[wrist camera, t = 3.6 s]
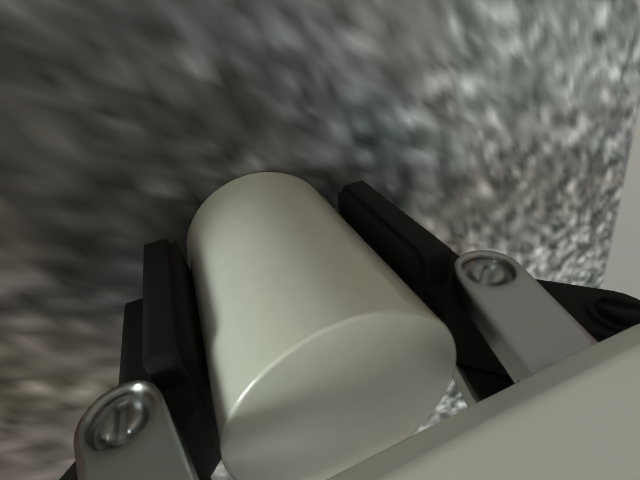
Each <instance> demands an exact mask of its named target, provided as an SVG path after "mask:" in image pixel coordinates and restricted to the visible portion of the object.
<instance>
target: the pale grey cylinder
mask: <svg viewBox="0 0 640 480" xmlns="http://www.w3.org/2000/svg"><path fill="white" fill-rule="evenodd" d="M187 255H188V262H189V268H190V273H191V279H192V285H193V291H194V297H195V303H196V309H197V315H198V321H199V327H200V333H201V339H202V345H203V351H204V357H205V364H206V370H207V376H208V382H209V388H210V394H211V400H212V406H213V412H214V418H215V424H216V430H217V436H218V442H219V448H220V454H221V459H222V461H223V464H224V466H225V468H226V470H227V471H228V472H229V474H230V475H231V476H232V477H233V478H234V479H235V480H326V479H328V478H330V477H332V476H334V475H336V474H338V473H340V472H342V471H344V470H346V469H348V468H350V467H352V466H354V465H356V464H358V463H360V462H361V461H363V460H365V459H367V458H369V457H371V456H373V455H375V454H377V453H379V452H381V451H383V450H385V449H387V448H389V447H391V446H393V445H395V444H397V443H399V442H401V441H403V440H405V439H407V438H408V437H409V436H410V435H411V434H412V433H413V432H414V431H415V430H416V429H417V428H418V427H419V426H420V425H421V424H422V423H423V422H424V421H425V420H426V419H427V418H428V417H429V415H430V414H431V413H432V412H433V411H434V409H435V408H436V406H437V405H438V404H439V402H440V401H441V399H442V398H443V396H444V394H445V393H446V391H447V389H448V387H449V385H450V383H451V380H452V377H453V374H454V371H455V366H456V358H457V351H456V344H455V341H454V338H453V336H452V333H451V332H450V330H449V329H448V327H447V326H446V325H445V324H444V323H443V322H442V321H441V319H440V318H439V317H438V316H437V315H436V314H435V313H434V312H433V311H432V310H431V309H430V308H429V307H428V306H427V305H426V304H425V303H424V302H423V301H422V300H421V299H420V298H419V297H418V295H417V294H416V293H415V292H414V291H413V290H412V289H411V288H410V287H409V286H408V285H407V284H406V283H405V282H404V281H403V280H402V279H401V278H400V277H399V276H398V275H397V274H396V273H395V271H394V270H393V269H392V268H391V267H390V266H389V265H388V264H387V263H386V262H385V261H384V260H383V259H382V258H381V257H380V256H379V255H378V254H377V253H376V252H375V251H374V250H373V249H372V247H371V246H370V245H369V244H368V243H367V242H366V241H365V240H364V239H363V238H362V237H361V236H360V235H359V234H358V233H357V232H356V231H355V230H354V229H353V228H352V227H351V226H350V225H349V223H348V222H347V221H346V220H345V219H344V218H343V217H342V216H341V215H340V214H339V213H338V212H337V211H336V210H335V209H334V208H333V207H332V206H331V205H330V204H329V203H328V202H327V201H326V199H325V198H324V197H323V196H322V195H321V194H320V193H319V192H318V191H317V190H316V189H315V188H314V187H313V186H311V185H310V184H308V183H307V182H306V181H304V180H302V179H300V178H298V177H295V176H292V175H289V174H284V173H279V172H261V173H254V174H249V175H246V176H243V177H240V178H237V179H235V180H233V181H230V182H228V183H227V184H225V185H223V186H222V187H220V188H219V189H217V190H216V191H215V192H214V193H213V194H211V195H210V196H209V197H208V198H207V199H206V200H205V201H204V203H203V204H202V205H201V206H200V208H199V209H198V211H197V212H196V214H195V216H194V218H193V220H192V222H191V225H190V228H189V231H188V236H187Z"/></svg>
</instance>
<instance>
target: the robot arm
mask: <svg viewBox="0 0 640 480" xmlns="http://www.w3.org/2000/svg"><path fill="white" fill-rule="evenodd" d="M338 205H339V214H340V215H341V216H342V217H343V218H344V219H345V220H346V221H347V222H348V223H349V225H350V226H351V227H352V228H353V229H354V230H355V231H356V232H357V233H358V234H359V235H360V236H361V237H362V238H363V239H364V240H365V241H366V242H367V243H368V244H369V245H370V246H371V247H372V249H373V250H374V251H375V252H376V253H377V254H378V255H379V256H380V257H381V258H382V259H383V260H384V261H385V262H386V263H387V264H388V265H389V266H390V267H391V268H392V269H393V270H394V271H395V273H396V274H397V275H398V276H399V277H400V278H401V279H402V280H403V281H404V282H405V283H406V284H407V285H408V286H409V287H410V288H411V289H412V290H413V291H414V292H415V293H416V294H417V295H418V297H419V298H420V299H421V300H422V301H423V302H424V303H425V304H426V305H427V306H428V307H429V308H430V309H431V310H432V311H433V312H434V313H435V314H436V315H437V316H438V317H439V318H440V319H441V321H442V322H443V323H444V324H445V325H446V326H447V327H448V329H449V330H450V332H451V333H452V336H453V338H454V341H455V344H456V351H457V358H456V366H455V371H454V374H453V379H454V381H455V383H456V385H457V387H458V388H459V390H460V392H461V394H462V396H463V398H464V400H465V402H466V404H467V406H468V408H466V409H464V410H462V411H460V412H458V413H456V414H454V415H452V416H450V417H448V418H446V419H444V420H442V421H440V422H438V423H436V424H434V425H433V426H431V427H429V428H427V429H425V430H423V431H421V432H419V433H417V434H415V435H413V436H411V437H409V438H407V439H405V440H403V441H401V442H399V443H397V444H395V445H393V446H391V447H389V448H387V449H385V450H383V451H381V452H379V453H377V454H375V455H373V456H371V457H369V458H367V459H365V460H363V461H361V462H360V463H358V464H356V465H354V466H352V467H350V468H348V469H346V470H344V471H342V472H340V473H338V474H336V475H334V476H332V477H330V478H328V479H326V480H640V300H638V299H637V298H634V297H631V296H629V295H626V294H623V293H619V292H615V291H610V290H604V289H597V288H590V287H584V286H577V285H571V284H564V283H557V282H551V281H544V280H537V279H534V278H533V277H532V276H531V275H530V274H529V273H528V272H527V271H526V270H525V269H524V268H523V267H522V266H521V265H520V264H519V263H518V262H516V261H515V260H514V259H513V258H511V257H509V256H507V255H504V254H502V253H498V252H494V251H486V250H478V251H471V252H468V253H465V254H463V255H461V256H460V257H459V256H458V255H457V254H455V253H454V252H453V251H452V250H451V249H450V248H449V247H448V246H446V245H445V244H444V243H443V242H441V241H440V240H439V239H437V238H436V237H435V236H434V235H432V234H431V233H430V232H428V231H427V230H426V229H425V228H423V227H422V226H421V225H419V224H418V223H417V222H416V221H414V220H413V219H412V218H410V217H409V216H408V215H407V214H405V213H404V212H403V211H401V210H400V209H399V208H398V207H396V206H395V205H394V204H392V203H391V202H390V201H389V200H387V199H386V198H385V197H383V196H382V195H381V194H380V193H378V192H377V191H376V190H374V189H373V188H372V187H371V186H369V185H368V184H367V183H365V182H364V181H358V182H355V183H351V184H348V185H344V186H343V189H342V192H339V193H338ZM74 451H75V459H76V461H75V462H74V463H73V464H72V465H71V467H70V468H69V469H68V470H67V471H66V472H65V473H64V475H63V476H62V477H61V478H60V479H59V480H214V478H213V475H212V474H213V472H214V470H215V469H216V467H217V465H218V463H219V462H220V460H221V454H220V448H219V442H218V436H217V430H216V424H215V418H214V412H213V406H212V400H211V394H210V388H209V382H208V376H207V370H206V364H205V357H204V351H203V345H202V339H201V333H200V327H199V321H198V315H197V309H196V303H195V297H194V291H193V285H192V279H191V273H190V270H189V268H188V265H187V263H186V261H185V258H184V256H183V253H182V251H181V249H180V246H179V244H178V242H177V241H175V242H172V243H169V241H168V239H167V238H166V239H162V240H159V241H156V242H152V243H149V244H145V245H144V267H143V298H141V299H138V300H135V301H132V302H129V303H127V304H126V305H125V309H124V323H123V336H122V349H121V362H120V375H119V385H118V386H116V387H114V388H112V389H110V390H109V391H107V392H106V393H104V394H103V395H101V396H100V397H99V398H98V399H97V400H96V401H95V402H94V403H93V404H92V405H91V406H89V408H88V409H87V410H86V412H85V413H84V415H83V416H82V417H81V419H80V421H79V423H78V425H77V428H76V430H75V434H74Z"/></svg>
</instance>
